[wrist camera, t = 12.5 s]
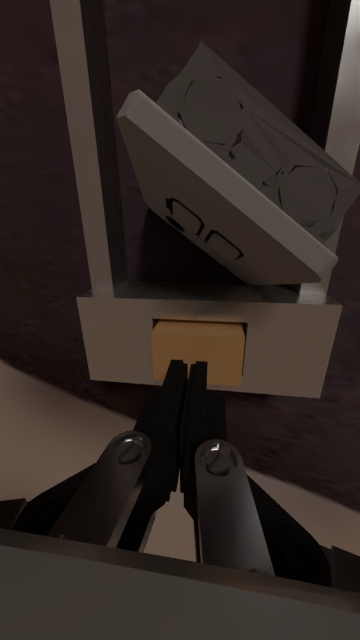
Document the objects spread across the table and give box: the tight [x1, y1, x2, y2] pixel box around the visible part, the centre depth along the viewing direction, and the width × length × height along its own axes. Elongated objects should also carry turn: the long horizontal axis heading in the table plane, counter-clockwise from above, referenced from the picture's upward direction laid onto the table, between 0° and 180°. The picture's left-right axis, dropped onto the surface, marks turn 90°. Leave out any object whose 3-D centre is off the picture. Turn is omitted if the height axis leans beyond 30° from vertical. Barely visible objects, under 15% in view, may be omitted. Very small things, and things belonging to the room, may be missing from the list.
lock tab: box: [151, 319, 245, 386], centre depth 15 cm, size 5×3×4 cm, turn 91°
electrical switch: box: [116, 41, 360, 285], centre depth 12 cm, size 9×5×9 cm, turn 54°
